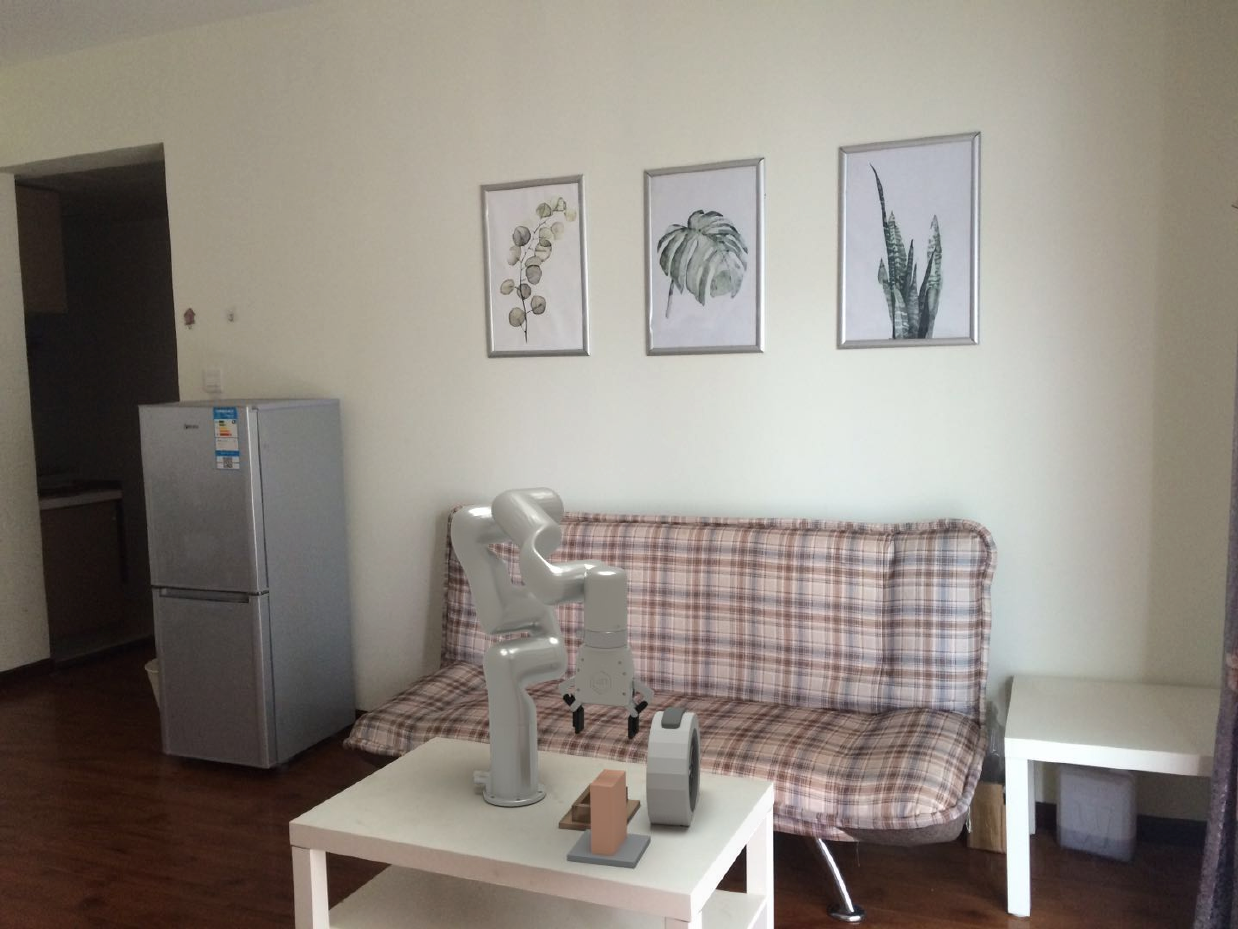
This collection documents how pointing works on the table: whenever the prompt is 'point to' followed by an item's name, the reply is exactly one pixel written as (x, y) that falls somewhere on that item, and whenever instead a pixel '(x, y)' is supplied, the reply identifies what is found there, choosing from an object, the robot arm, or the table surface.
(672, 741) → the alarm clock
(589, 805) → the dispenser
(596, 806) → the salmon pink tall block
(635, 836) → the mat
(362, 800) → the table surface
